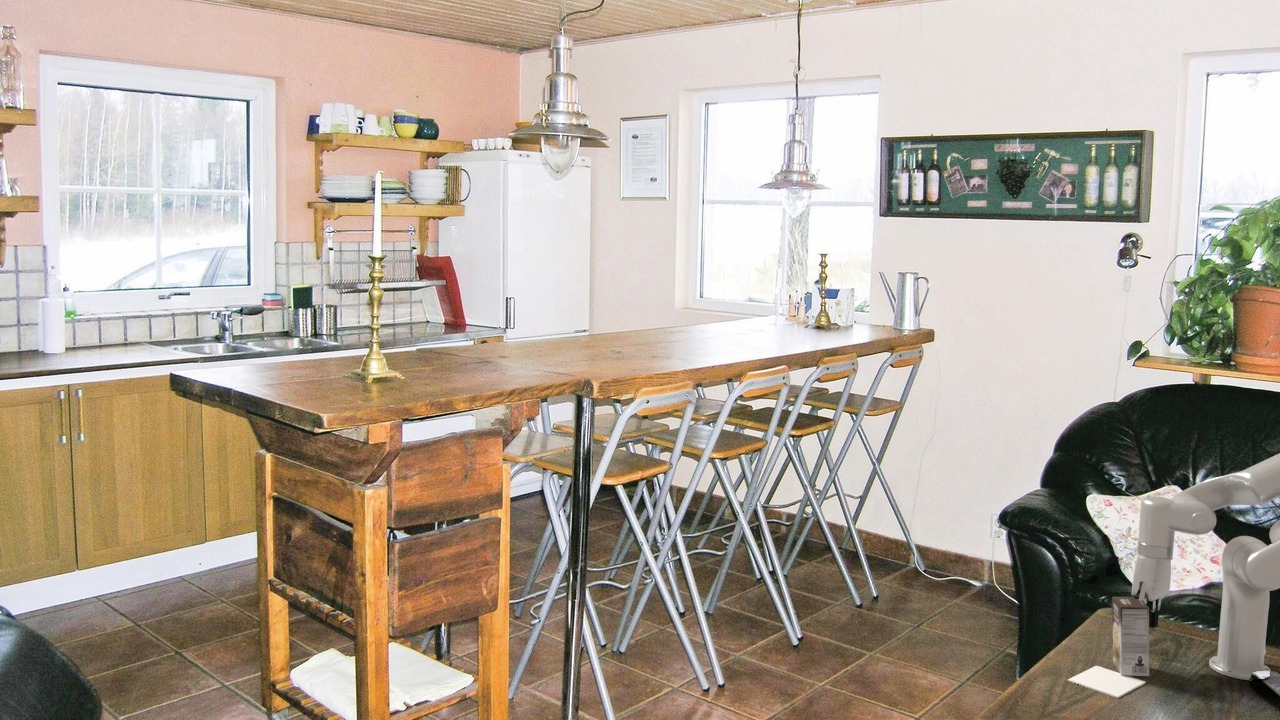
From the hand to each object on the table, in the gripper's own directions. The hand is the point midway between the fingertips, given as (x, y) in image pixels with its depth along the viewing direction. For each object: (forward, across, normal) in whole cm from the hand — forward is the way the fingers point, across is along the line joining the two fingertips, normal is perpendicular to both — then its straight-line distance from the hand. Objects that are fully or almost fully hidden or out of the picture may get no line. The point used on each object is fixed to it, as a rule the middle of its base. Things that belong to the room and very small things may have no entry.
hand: (1149, 625), depth 257 cm
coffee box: (+9, +8, 0) cm, 12 cm away
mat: (+9, +18, 0) cm, 20 cm away
